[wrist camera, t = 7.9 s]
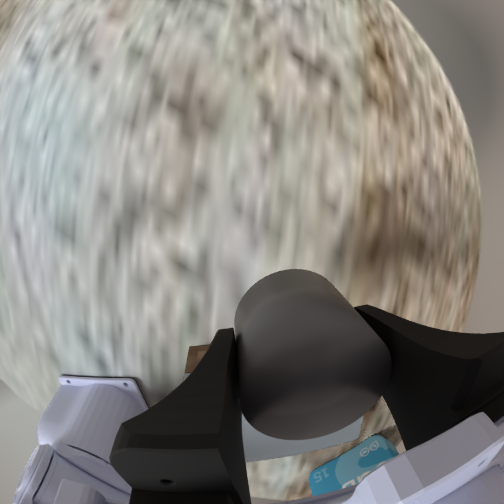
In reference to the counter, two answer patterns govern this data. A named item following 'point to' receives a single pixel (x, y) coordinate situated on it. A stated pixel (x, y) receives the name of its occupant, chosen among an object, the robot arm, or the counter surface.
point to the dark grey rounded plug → (305, 357)
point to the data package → (351, 465)
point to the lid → (290, 441)
